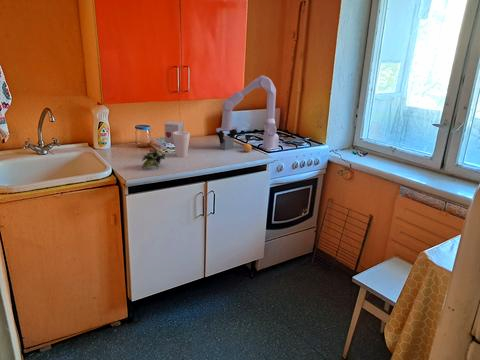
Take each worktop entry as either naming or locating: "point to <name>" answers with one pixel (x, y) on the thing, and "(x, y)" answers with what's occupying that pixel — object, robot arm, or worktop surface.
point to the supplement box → (172, 130)
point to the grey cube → (227, 143)
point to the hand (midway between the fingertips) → (226, 142)
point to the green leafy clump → (153, 158)
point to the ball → (247, 147)
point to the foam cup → (181, 142)
